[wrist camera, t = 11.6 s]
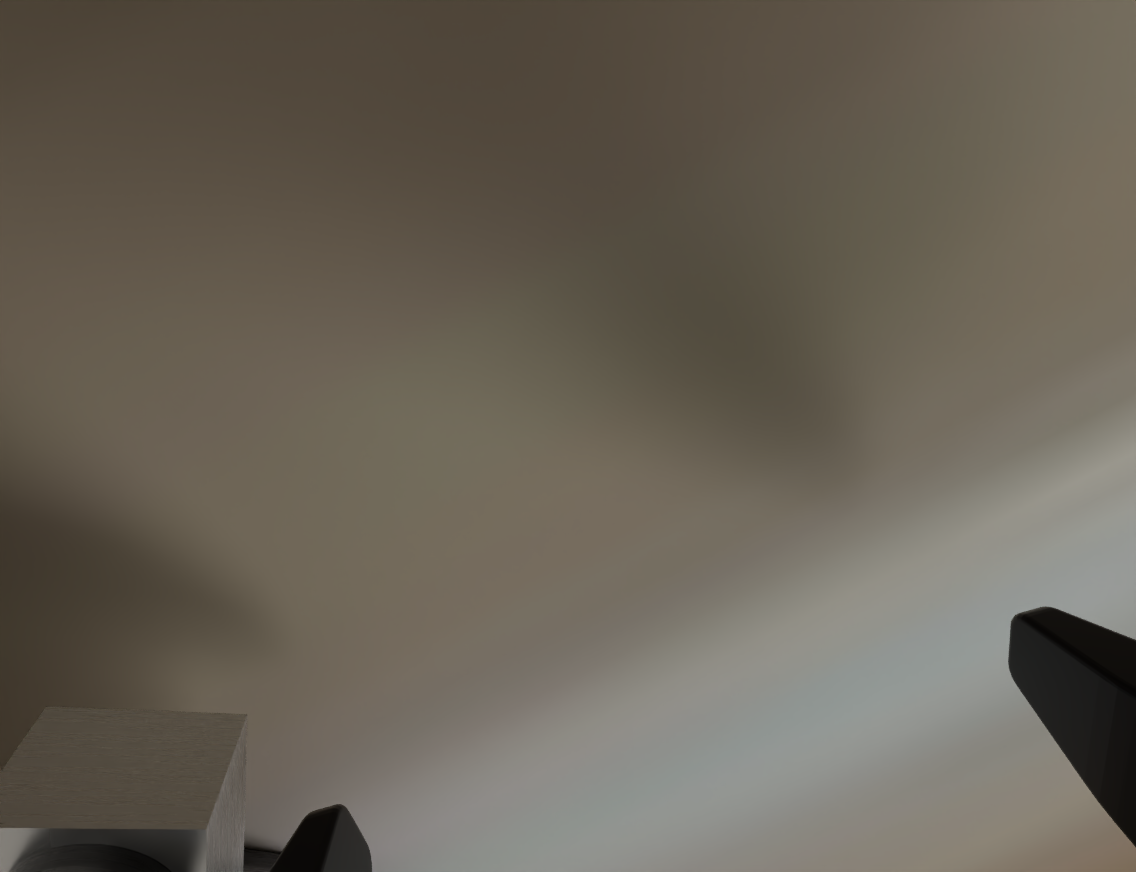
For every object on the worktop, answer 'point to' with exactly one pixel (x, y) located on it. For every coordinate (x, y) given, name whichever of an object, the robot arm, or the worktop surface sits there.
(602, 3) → the worktop surface
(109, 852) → the crank
